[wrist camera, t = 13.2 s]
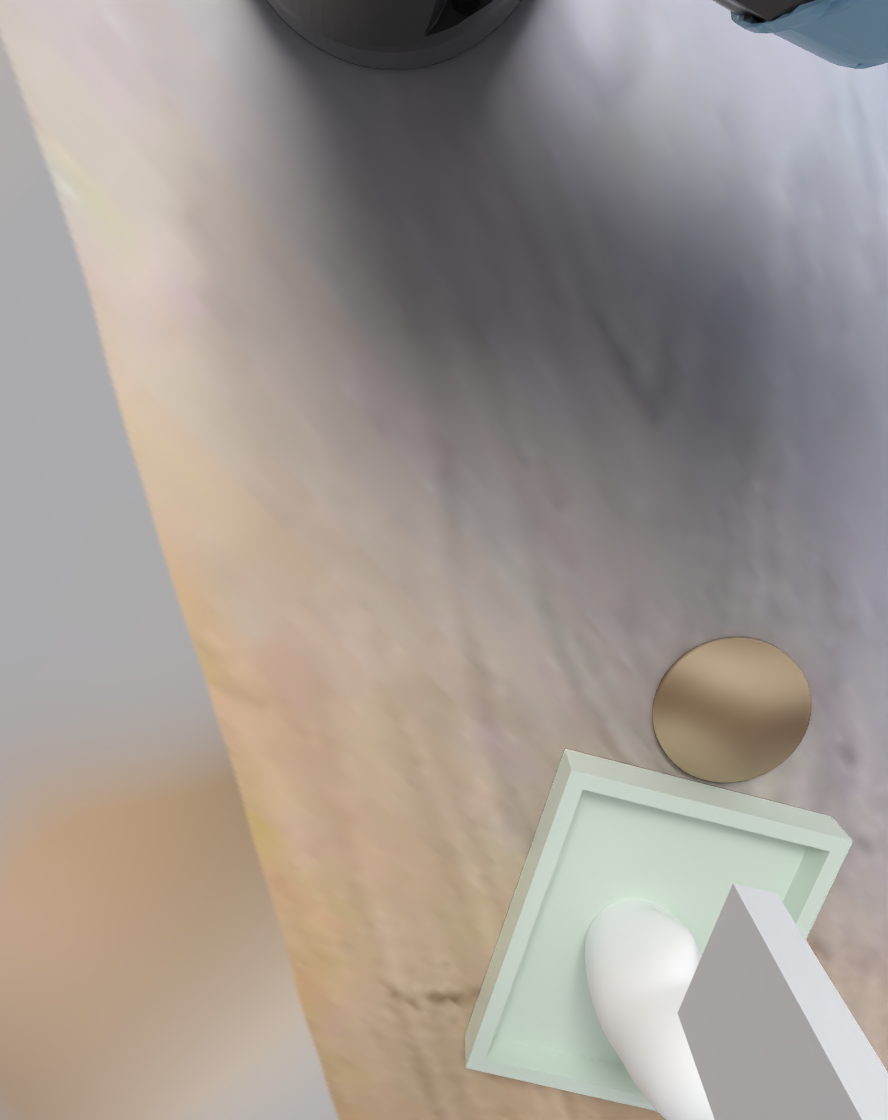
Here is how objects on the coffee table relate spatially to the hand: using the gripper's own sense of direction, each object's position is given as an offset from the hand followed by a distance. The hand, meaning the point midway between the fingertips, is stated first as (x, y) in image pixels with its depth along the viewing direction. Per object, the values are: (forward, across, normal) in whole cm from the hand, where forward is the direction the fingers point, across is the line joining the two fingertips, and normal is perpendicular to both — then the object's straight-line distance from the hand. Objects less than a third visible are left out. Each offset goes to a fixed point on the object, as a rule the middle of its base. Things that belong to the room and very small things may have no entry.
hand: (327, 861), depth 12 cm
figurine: (+28, +20, -22) cm, 41 cm away
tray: (+28, +20, -22) cm, 41 cm away
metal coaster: (+28, +20, -6) cm, 36 cm away
